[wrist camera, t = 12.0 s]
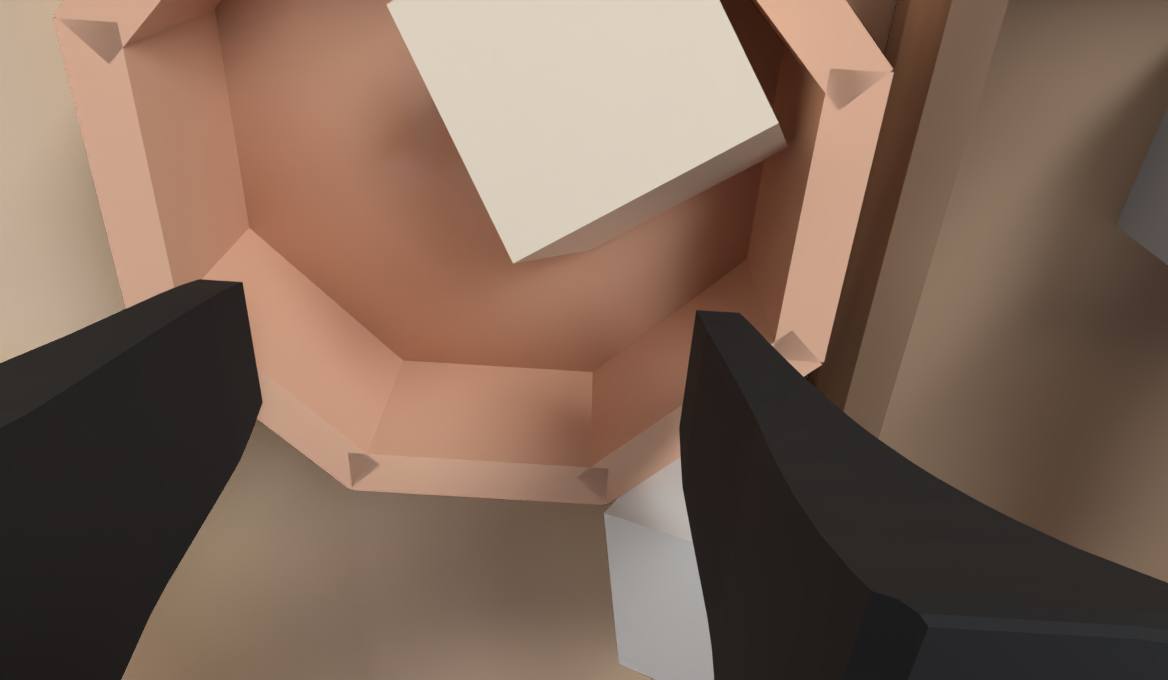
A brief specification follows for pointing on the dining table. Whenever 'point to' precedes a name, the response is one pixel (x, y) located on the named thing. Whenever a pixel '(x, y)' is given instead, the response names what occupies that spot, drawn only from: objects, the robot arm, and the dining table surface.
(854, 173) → the terracotta bowl
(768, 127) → the beige block
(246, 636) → the dining table surface
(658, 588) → the white block
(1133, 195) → the blue-grey block
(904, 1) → the walnut tray
